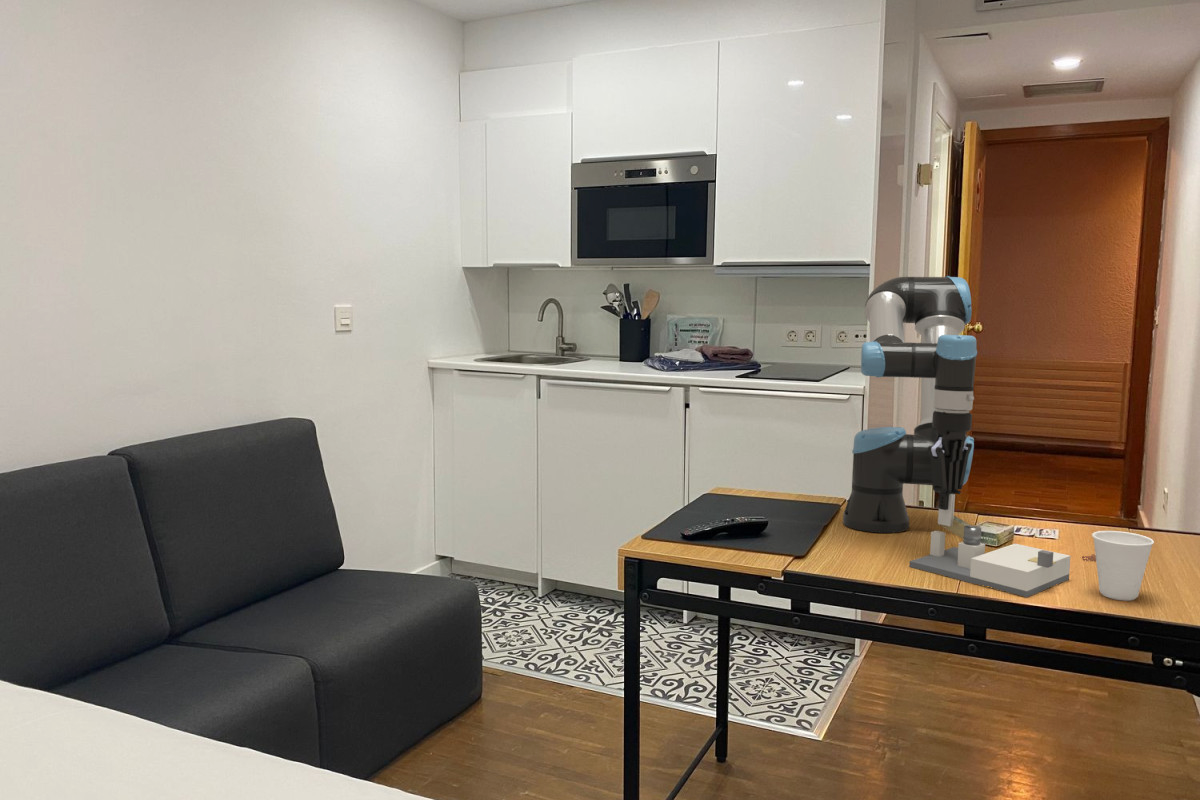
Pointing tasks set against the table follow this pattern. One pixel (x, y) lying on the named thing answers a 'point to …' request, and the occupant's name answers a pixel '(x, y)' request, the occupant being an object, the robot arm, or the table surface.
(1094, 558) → the key
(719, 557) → the table surface
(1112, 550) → the cup
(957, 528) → the latch bar
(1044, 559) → the door board
